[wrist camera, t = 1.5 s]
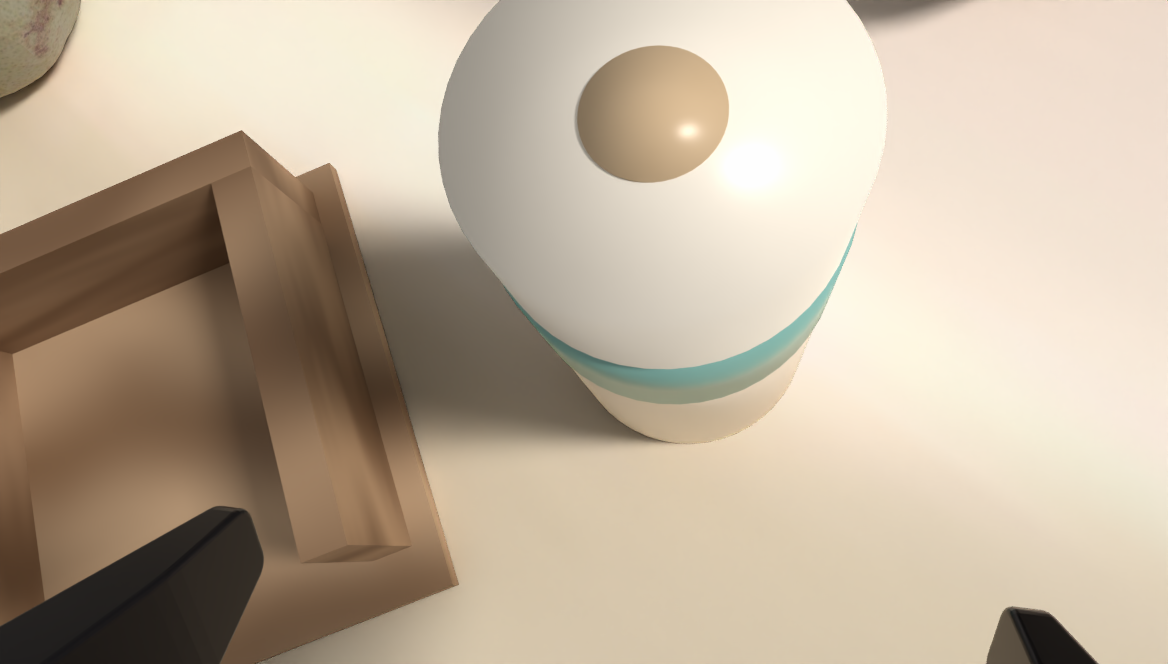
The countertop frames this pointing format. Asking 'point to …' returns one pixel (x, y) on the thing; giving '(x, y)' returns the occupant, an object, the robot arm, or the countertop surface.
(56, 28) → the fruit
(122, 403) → the holder
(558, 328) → the white bottle
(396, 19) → the countertop surface
